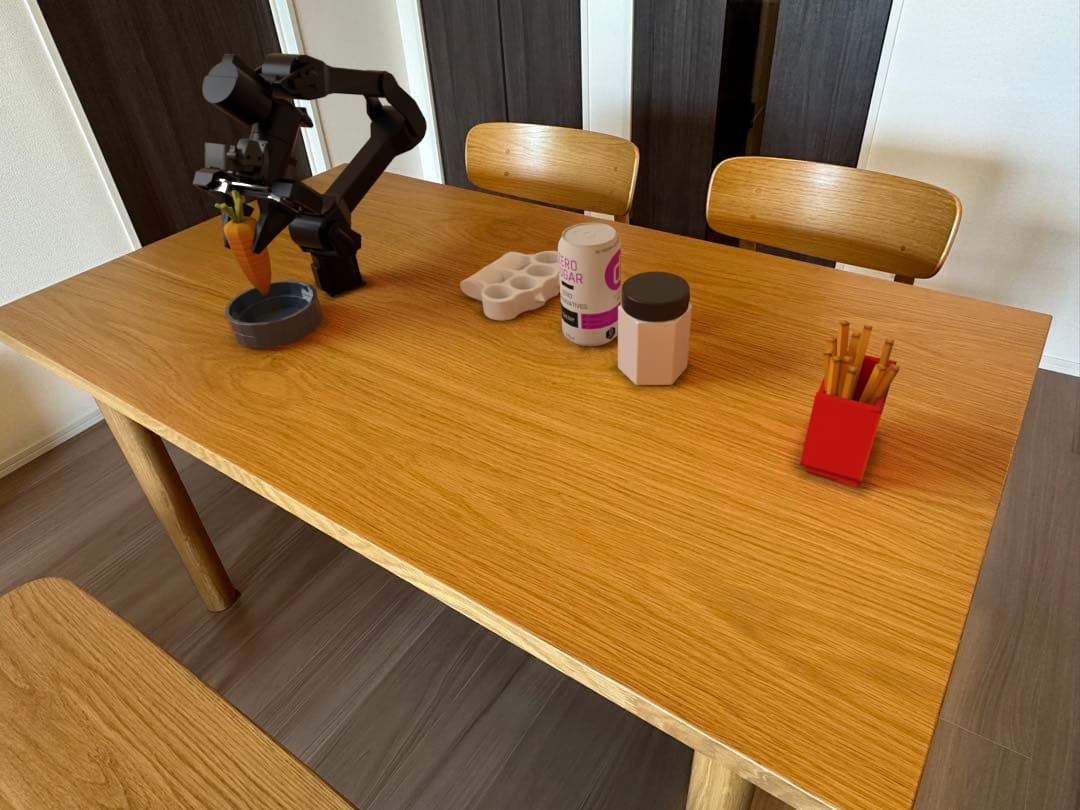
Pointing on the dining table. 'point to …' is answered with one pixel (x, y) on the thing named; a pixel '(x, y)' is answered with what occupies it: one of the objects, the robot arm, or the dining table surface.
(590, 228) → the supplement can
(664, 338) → the jar
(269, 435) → the dining table surface
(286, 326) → the bowl
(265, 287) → the carrot
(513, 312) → the white holed block
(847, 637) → the dining table surface
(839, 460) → the french fries container
